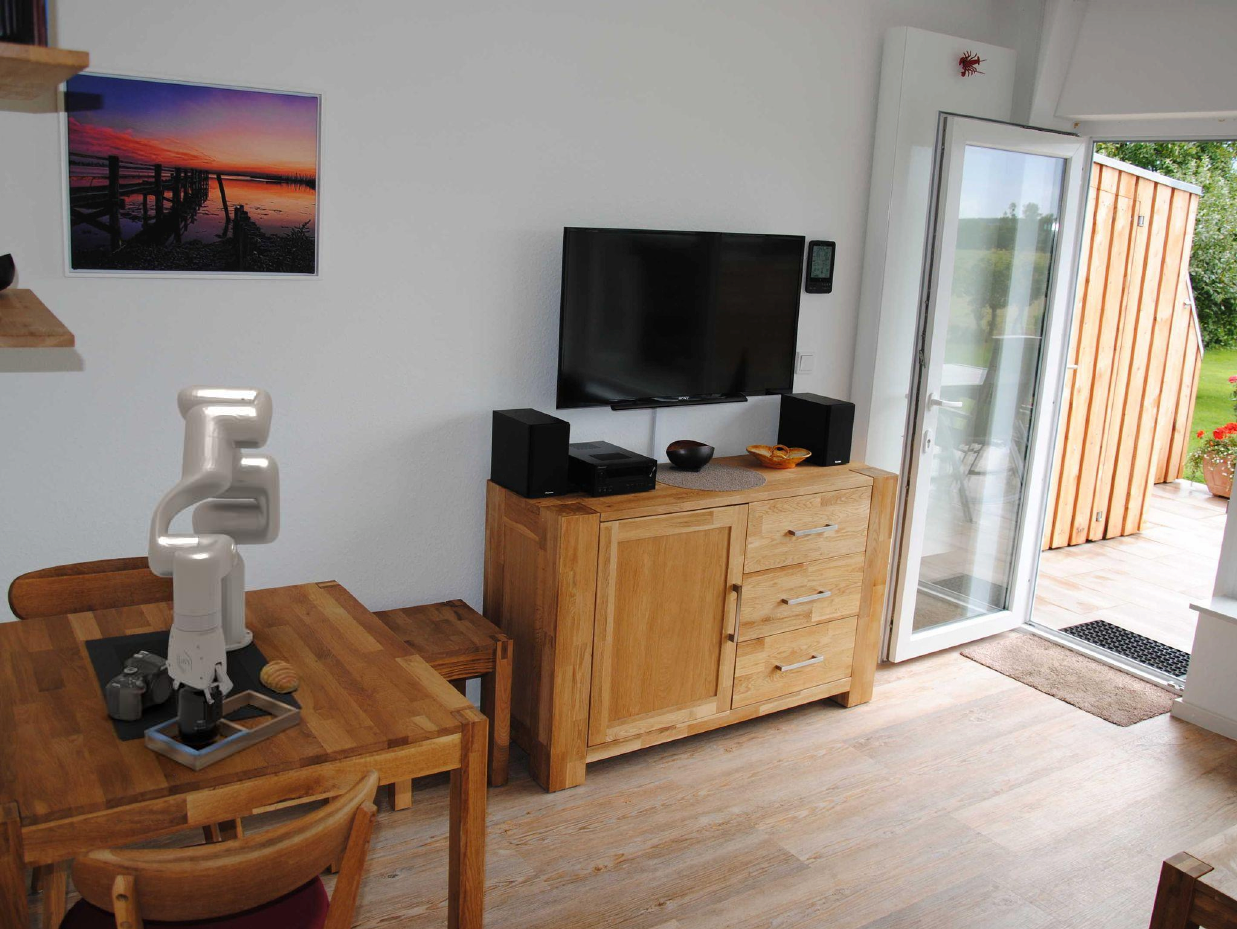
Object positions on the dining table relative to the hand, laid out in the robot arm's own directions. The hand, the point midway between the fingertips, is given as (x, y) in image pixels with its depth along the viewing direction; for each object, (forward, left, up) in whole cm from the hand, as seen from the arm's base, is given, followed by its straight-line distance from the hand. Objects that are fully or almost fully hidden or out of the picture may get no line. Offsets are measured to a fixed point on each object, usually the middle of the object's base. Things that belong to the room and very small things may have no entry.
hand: (199, 714), depth 181 cm
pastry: (-8, +26, -6) cm, 28 cm away
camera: (-20, +3, -6) cm, 22 cm away
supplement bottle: (0, 0, -4) cm, 4 cm away
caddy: (0, +5, -6) cm, 8 cm away
